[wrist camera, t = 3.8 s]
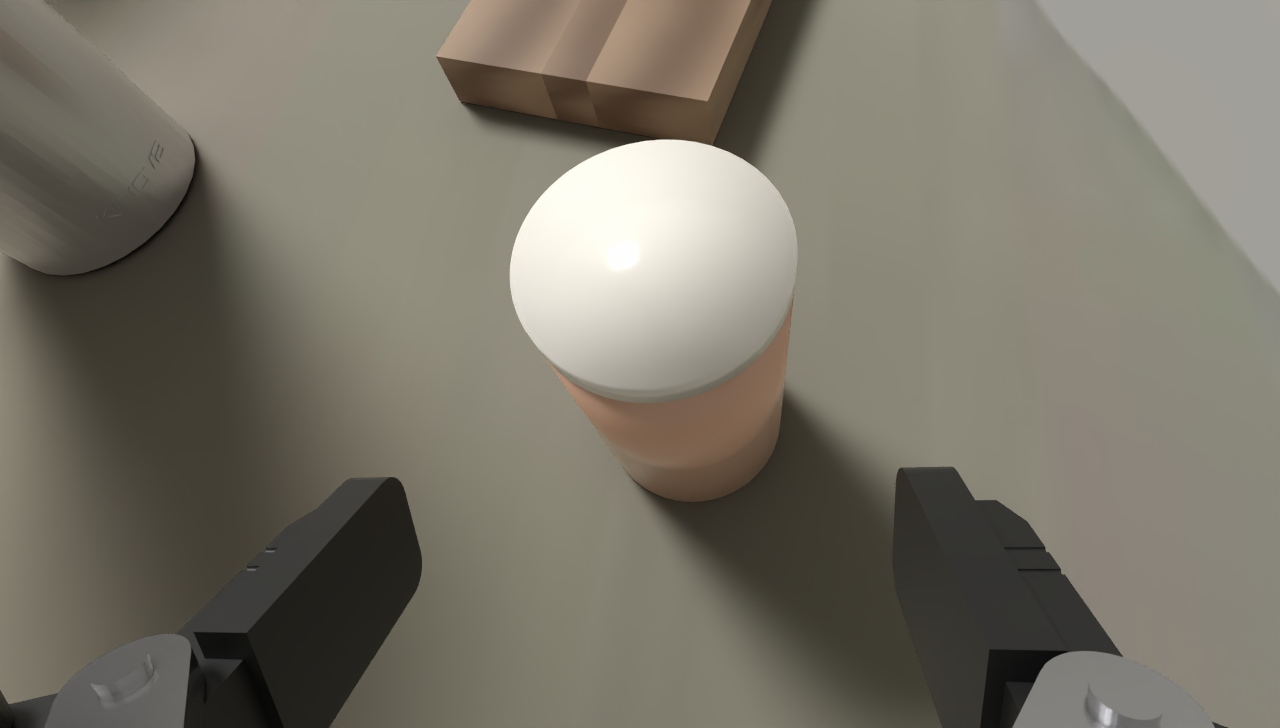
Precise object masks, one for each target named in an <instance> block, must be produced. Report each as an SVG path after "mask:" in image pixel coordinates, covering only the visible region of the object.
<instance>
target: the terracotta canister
mask: <svg viewBox="0 0 1280 728" xmlns="http://www.w3.org/2000/svg"><path fill="white" fill-rule="evenodd" d="M797 256H798V250H797V236H796V232H795V228H794V223H793V220H792V217H791V215H790V212H789V210H788V207H787V205H786V203H785V202H784V200H783V198H782V197H781V195H780V193H779V192H778V191H777V189H776V188H775V187H774V186H773V185H772V183H771V182H770V181H769V180H768V179H767V178H766V177H765V176H764V175H763V174H762V173H761V172H760V171H758V170H757V169H756V168H755V167H753V166H752V165H750V164H749V163H748V162H746V161H745V160H743V159H741V158H739V157H737V156H736V155H734V154H732V153H730V152H728V151H725V150H722V149H719V148H717V147H714V146H711V145H706V144H702V143H698V142H692V141H684V140H651V141H642V142H637V143H632V144H627V145H623V146H620V147H617V148H613V149H610V150H608V151H605V152H603V153H600V154H598V155H595V156H593V157H591V158H590V159H588V160H586V161H584V162H582V163H580V164H579V165H577V166H576V167H574V168H573V169H571V170H570V171H568V172H567V173H565V174H564V175H563V176H562V177H560V178H559V179H558V180H557V181H556V182H554V183H553V184H552V185H551V186H550V187H549V188H548V189H547V190H546V191H545V192H544V194H543V195H542V196H541V197H540V198H539V199H538V201H537V202H536V203H535V205H534V206H533V207H532V209H531V210H530V212H529V213H528V215H527V217H526V219H525V220H524V222H523V224H522V226H521V228H520V231H519V233H518V235H517V238H516V241H515V245H514V248H513V252H512V258H511V265H510V287H511V293H512V299H513V303H514V306H515V309H516V312H517V315H518V317H519V319H520V321H521V323H522V325H523V327H524V329H525V331H526V332H527V334H528V335H529V336H530V338H531V339H532V341H533V342H534V343H535V345H536V346H537V348H538V349H539V350H540V352H541V353H542V355H543V356H544V357H545V359H546V360H547V362H548V363H549V364H550V366H551V367H552V369H553V370H554V371H555V373H556V374H557V376H558V377H559V378H560V380H561V381H562V383H563V384H564V385H565V387H566V388H567V390H568V391H569V392H570V394H571V395H572V397H573V398H574V399H575V401H576V402H577V404H578V405H579V406H580V408H581V409H582V411H583V412H584V413H585V415H586V416H587V418H588V419H589V420H590V422H591V423H592V425H593V426H594V427H595V429H596V430H597V432H598V433H599V434H600V436H601V437H602V439H603V440H604V441H605V443H606V444H607V446H608V447H609V448H610V450H611V451H612V453H613V454H614V455H615V457H616V458H617V459H618V461H619V462H620V464H621V465H622V466H623V468H624V469H625V471H626V472H627V473H628V474H629V475H630V476H631V477H632V478H633V479H634V480H635V481H636V482H637V483H639V484H640V485H641V486H642V487H644V488H646V489H647V490H649V491H651V492H652V493H655V494H657V495H659V496H662V497H664V498H668V499H672V500H676V501H683V502H702V501H709V500H713V499H717V498H721V497H724V496H726V495H729V494H731V493H733V492H735V491H737V490H738V489H740V488H742V487H743V486H745V485H746V484H747V483H749V482H750V481H751V480H752V479H753V478H754V477H755V476H756V475H757V474H758V473H759V472H760V471H761V470H762V469H763V467H764V466H765V465H766V463H767V462H768V460H769V458H770V457H771V455H772V453H773V451H774V448H775V446H776V443H777V439H778V435H779V431H780V421H781V411H782V402H783V392H784V383H785V373H786V363H787V354H788V344H789V334H790V325H791V315H792V306H793V296H794V286H795V277H796V267H797Z"/></svg>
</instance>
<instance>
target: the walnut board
mask: <svg viewBox="0 0 1280 728" xmlns="http://www.w3.org/2000/svg"><path fill="white" fill-rule="evenodd" d="M771 3H772V0H471V1H470V3H469V4H468V6H467V7H466V9H465V11H464V12H463V14H462V15H461V17H460V19H459V20H458V22H457V23H456V25H455V27H454V28H453V30H452V31H451V33H450V35H449V36H448V38H447V39H446V41H445V43H444V44H443V46H442V47H441V49H440V51H439V52H438V54H437V55H436V57H437V59H438V61H439V63H440V65H441V67H442V68H443V70H444V72H445V74H446V76H447V78H448V80H449V82H450V83H451V85H452V87H453V89H454V91H455V93H456V95H457V97H458V98H459V100H460V101H461V102H466V103H472V104H477V105H483V106H488V107H493V108H499V109H504V110H509V111H515V112H520V113H525V114H531V115H536V116H542V117H547V118H552V119H558V120H563V121H568V122H574V123H579V124H585V125H590V126H595V127H601V128H606V129H611V130H617V131H622V132H627V133H633V134H638V135H644V136H649V137H654V138H660V139H665V140H684V141H692V142H698V143H702V144H706V145H711V146H713V144H714V141H715V139H716V136H717V134H718V131H719V129H720V127H721V124H722V122H723V119H724V117H725V114H726V112H727V110H728V107H729V105H730V102H731V100H732V97H733V95H734V93H735V90H736V88H737V85H738V83H739V80H740V78H741V76H742V73H743V71H744V68H745V66H746V64H747V61H748V59H749V56H750V54H751V51H752V49H753V47H754V44H755V42H756V39H757V37H758V34H759V32H760V30H761V27H762V25H763V22H764V20H765V17H766V15H767V13H768V10H769V8H770V5H771Z"/></svg>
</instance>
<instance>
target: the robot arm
mask: <svg viewBox="0 0 1280 728" xmlns="http://www.w3.org/2000/svg"><path fill="white" fill-rule="evenodd" d="M194 165H195V154H194V146H193V143H192V141H191V139H190V137H189V134H188V133H187V132H186V131H185V130H184V129H183V128H182V127H181V126H180V125H179V124H178V123H177V122H176V121H175V120H174V119H173V118H171V117H170V116H169V115H168V114H167V113H166V112H165V111H164V110H163V109H162V108H161V107H159V106H158V105H157V104H156V103H155V102H154V101H153V100H152V99H151V98H150V97H149V96H148V95H146V94H145V93H144V92H143V91H142V90H141V89H140V88H139V87H138V86H137V85H136V84H135V83H133V82H132V81H131V80H130V79H129V78H128V77H127V76H126V75H125V74H124V73H123V72H121V71H120V70H119V69H118V68H117V67H116V66H115V65H114V64H113V63H112V62H111V61H110V60H109V59H108V58H107V57H106V56H105V55H104V54H102V53H101V52H100V51H99V50H98V49H97V48H96V47H95V46H94V45H93V44H92V43H90V42H89V41H88V40H87V39H86V38H85V37H84V36H83V35H82V34H81V33H80V32H79V31H77V30H76V29H75V28H74V27H73V26H72V25H71V24H70V23H69V22H68V21H67V20H65V19H64V18H63V17H62V16H61V15H60V14H59V13H58V12H57V11H56V10H55V9H54V8H52V7H51V6H50V5H49V4H48V3H47V2H46V1H45V0H0V252H2V253H4V254H6V255H8V256H10V257H12V258H14V259H16V260H17V261H19V262H21V263H23V264H25V265H27V266H29V267H31V268H32V269H35V270H37V271H40V272H43V273H46V274H51V275H64V276H65V275H73V274H80V273H85V272H89V271H92V270H95V269H98V268H101V267H104V266H106V265H108V264H110V263H112V262H114V261H116V260H118V259H120V258H122V257H124V256H126V255H127V254H129V253H130V252H132V251H133V250H135V249H136V248H138V247H139V246H140V245H142V244H143V243H145V242H146V241H147V240H148V239H149V238H150V237H151V236H152V235H154V234H155V233H156V232H157V231H158V230H159V229H160V228H161V227H162V226H163V225H164V224H165V222H166V221H167V220H168V219H169V218H170V217H171V215H172V214H173V213H174V212H175V210H176V209H177V207H178V206H179V204H180V202H181V201H182V199H183V197H184V196H185V194H186V192H187V189H188V187H189V184H190V182H191V179H192V177H193V171H194ZM421 571H422V557H421V551H420V547H419V544H418V540H417V536H416V532H415V528H414V525H413V521H412V517H411V513H410V509H409V505H408V502H407V498H406V494H405V491H404V487H403V485H402V484H401V482H400V481H399V480H398V479H397V478H394V477H377V478H350V479H348V480H346V481H345V482H344V483H343V484H342V485H341V486H340V487H339V488H338V489H337V490H336V491H335V492H334V493H333V494H332V495H331V496H330V497H329V498H328V499H327V500H326V501H325V502H324V503H323V504H322V505H321V506H320V507H319V508H317V509H316V510H314V511H313V512H311V513H309V514H308V515H306V516H304V517H303V518H301V519H299V520H298V521H296V522H295V523H293V524H291V525H290V526H288V527H287V528H286V529H285V530H284V531H283V532H282V533H281V534H280V535H279V536H278V537H277V538H276V539H274V540H273V541H272V542H271V543H270V544H269V545H268V546H267V547H266V551H265V552H261V553H260V554H259V555H258V556H257V557H256V558H255V559H254V560H253V561H252V562H251V563H250V564H249V565H248V566H247V570H246V571H241V572H240V573H239V574H238V575H237V576H236V577H235V578H234V579H233V580H232V581H231V582H230V583H229V584H228V585H227V586H226V587H225V588H224V589H223V590H222V591H221V592H220V593H219V594H218V595H216V596H215V597H214V598H213V599H212V600H211V601H210V602H209V603H208V604H207V605H206V606H205V607H204V608H203V609H202V610H201V611H200V612H199V613H198V614H197V615H196V616H195V617H194V618H193V619H192V620H191V621H190V622H188V623H187V624H186V625H185V626H184V627H183V628H182V629H181V630H180V631H179V632H178V633H177V634H158V635H152V636H148V637H144V638H141V639H138V640H135V641H132V642H129V643H127V644H124V645H122V646H120V647H118V648H116V649H114V650H112V651H110V652H108V653H106V654H104V655H103V656H101V657H99V658H97V659H96V660H94V661H93V662H91V663H90V664H88V665H87V666H86V667H84V668H83V669H82V670H81V671H79V672H78V673H77V674H76V675H75V676H74V677H72V678H71V679H70V680H69V681H68V682H67V683H66V684H65V686H64V687H63V688H62V689H61V690H60V692H59V693H57V694H53V695H48V696H44V697H40V698H35V699H31V700H26V701H22V702H18V703H13V704H8V703H7V701H6V699H5V697H4V696H3V694H2V692H1V691H0V728H329V726H330V725H331V723H332V722H333V720H334V719H335V717H336V715H337V714H338V712H339V711H340V709H341V708H342V706H343V705H344V703H345V701H346V700H347V698H348V697H349V695H350V694H351V692H352V690H353V689H354V687H355V686H356V684H357V683H358V681H359V679H360V678H361V676H362V675H363V673H364V672H365V670H366V669H367V667H368V665H369V664H370V662H371V661H372V659H373V658H374V656H375V654H376V653H377V651H378V650H379V648H380V647H381V645H382V643H383V642H384V640H385V639H386V637H387V636H388V634H389V633H390V631H391V629H392V628H393V626H394V625H395V623H396V622H397V620H398V618H399V617H400V615H401V614H402V612H403V611H404V609H405V607H406V606H407V604H408V603H409V601H410V600H411V598H412V596H413V595H414V593H415V591H416V590H417V587H418V584H419V581H420V577H421ZM893 572H894V580H895V586H896V591H897V595H898V598H899V601H900V604H901V607H902V610H903V613H904V616H905V619H906V622H907V625H908V628H909V630H910V633H911V636H912V639H913V642H914V645H915V648H916V651H917V654H918V657H919V660H920V663H921V666H922V669H923V672H924V675H925V678H926V680H927V683H928V686H929V689H930V692H931V695H932V698H933V701H934V704H935V707H936V710H937V713H938V716H939V719H940V722H941V725H942V727H943V728H1227V727H1224V726H1222V725H1219V724H1216V723H1214V722H1212V721H1211V719H1210V717H1209V716H1208V714H1207V713H1206V712H1205V710H1204V709H1203V708H1202V706H1201V705H1200V704H1199V703H1198V702H1197V701H1196V700H1195V699H1194V698H1193V697H1192V696H1191V695H1190V694H1189V693H1188V692H1186V691H1185V690H1184V689H1183V688H1182V687H1180V686H1179V685H1178V684H1176V683H1175V682H1173V681H1172V680H1170V679H1169V678H1167V677H1166V676H1164V675H1162V674H1161V673H1159V672H1157V671H1155V670H1153V669H1151V668H1149V667H1147V666H1145V665H1143V664H1140V663H1138V662H1135V661H1133V660H1130V659H1127V658H1124V657H1123V656H1122V655H1121V653H1120V652H1119V650H1118V649H1117V648H1116V646H1115V645H1114V643H1113V642H1112V641H1111V639H1110V638H1109V636H1108V635H1107V634H1106V632H1105V631H1104V629H1103V628H1102V626H1101V625H1100V624H1099V622H1098V621H1097V619H1096V618H1095V617H1094V615H1093V614H1092V612H1091V611H1090V610H1089V608H1088V607H1087V605H1086V604H1085V602H1084V601H1083V600H1082V598H1081V597H1080V595H1079V594H1078V593H1077V591H1076V590H1075V588H1074V587H1073V586H1072V584H1071V583H1070V581H1069V580H1068V578H1067V577H1066V576H1065V575H1062V574H1061V569H1060V567H1059V566H1058V564H1057V563H1056V562H1055V560H1054V559H1053V557H1052V556H1051V554H1050V553H1049V552H1046V550H1045V546H1044V545H1043V543H1042V542H1041V540H1040V539H1039V537H1038V536H1037V535H1036V533H1035V532H1034V530H1033V529H1032V528H1031V526H1030V525H1029V523H1028V522H1027V521H1026V520H1024V519H1023V518H1021V517H1020V516H1018V515H1017V514H1016V513H1014V512H1013V511H1011V510H1010V509H1008V508H1007V507H1005V506H1004V505H1003V504H1001V503H1000V502H998V501H997V500H975V499H974V498H973V496H972V495H971V493H970V491H969V490H968V488H967V486H966V485H965V483H964V482H963V480H962V478H961V477H960V475H959V473H958V472H957V470H956V469H955V468H954V467H916V468H900V469H899V470H898V473H897V478H896V492H895V513H894V534H893Z"/></svg>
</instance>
